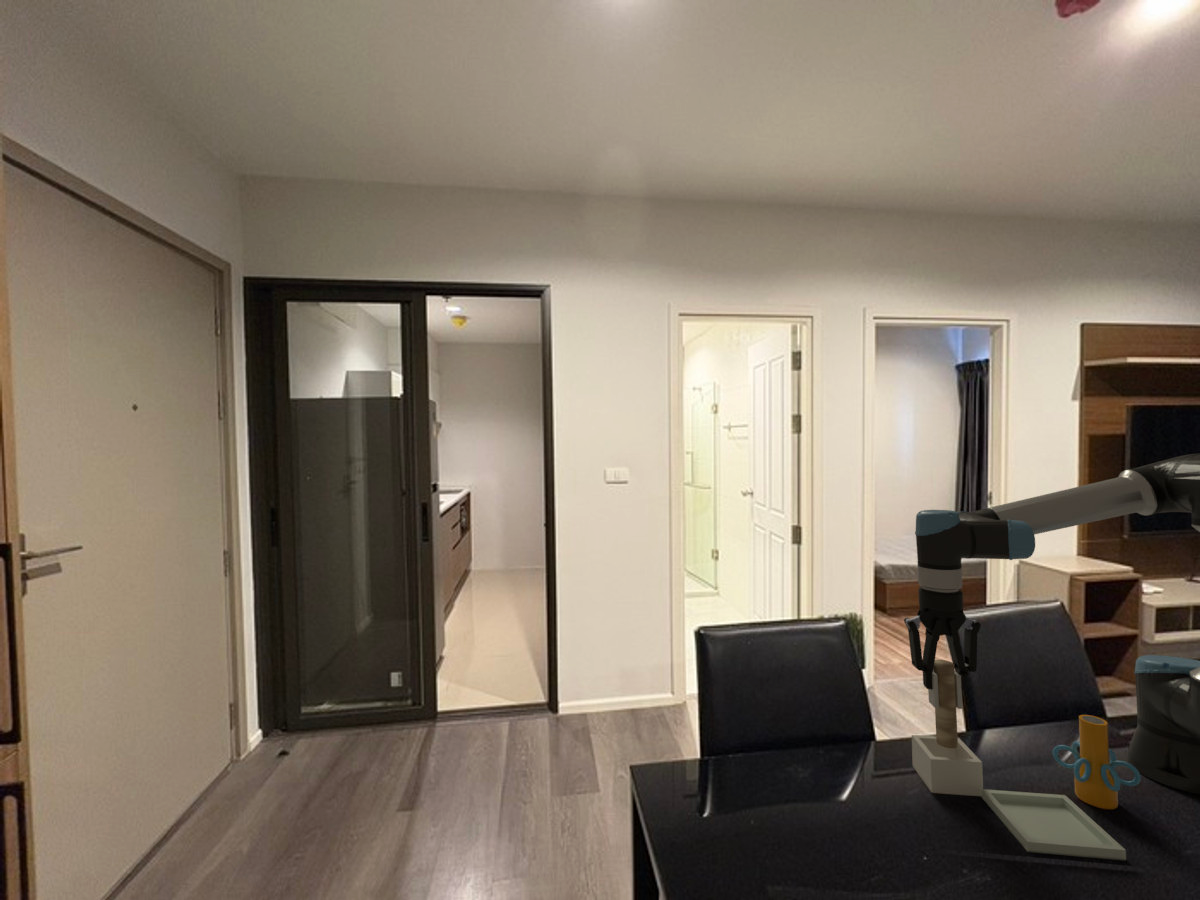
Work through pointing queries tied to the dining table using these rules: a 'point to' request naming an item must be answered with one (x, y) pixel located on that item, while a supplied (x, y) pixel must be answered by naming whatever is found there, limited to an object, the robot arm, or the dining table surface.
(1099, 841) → the tray
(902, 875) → the dining table surface
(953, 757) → the hollow square block
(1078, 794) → the tube with teal loops
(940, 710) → the dowel
